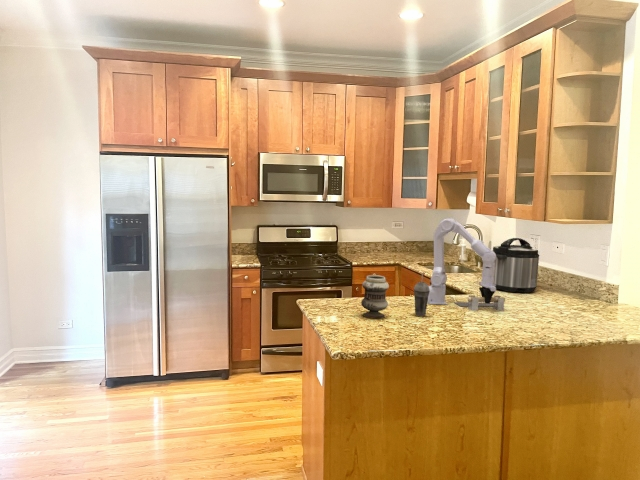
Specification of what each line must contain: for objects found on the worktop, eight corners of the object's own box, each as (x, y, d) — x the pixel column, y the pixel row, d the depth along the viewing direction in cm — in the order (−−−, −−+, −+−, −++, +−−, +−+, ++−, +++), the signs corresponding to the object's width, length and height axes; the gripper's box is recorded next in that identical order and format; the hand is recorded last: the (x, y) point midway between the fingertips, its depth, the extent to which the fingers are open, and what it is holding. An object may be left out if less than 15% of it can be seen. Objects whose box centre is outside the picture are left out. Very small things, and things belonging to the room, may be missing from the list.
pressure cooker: (526, 285, 300) (530, 236, 297) (547, 295, 272) (551, 241, 269) (479, 284, 300) (483, 235, 297) (495, 293, 272) (499, 239, 269)
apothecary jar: (370, 320, 202) (372, 279, 201) (355, 313, 213) (357, 274, 211) (392, 318, 208) (394, 278, 206) (377, 311, 219) (379, 273, 217)
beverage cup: (429, 314, 217) (431, 272, 215) (427, 318, 210) (430, 274, 208) (413, 312, 219) (415, 270, 217) (411, 316, 212) (413, 272, 210)
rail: (469, 302, 228) (469, 297, 228) (467, 301, 231) (467, 296, 230) (504, 302, 230) (505, 298, 229) (502, 301, 232) (502, 297, 232)
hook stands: (471, 310, 227) (472, 297, 227) (467, 308, 232) (468, 295, 232) (503, 311, 229) (504, 298, 228) (498, 308, 234) (499, 295, 233)
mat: (460, 306, 234) (460, 305, 234) (454, 303, 242) (454, 302, 242) (502, 307, 236) (502, 306, 236) (495, 303, 244) (495, 302, 244)
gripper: (502, 278, 222) (500, 306, 223) (489, 273, 236) (487, 299, 238) (488, 278, 221) (486, 306, 223) (475, 272, 236) (474, 299, 237)
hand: (486, 302), depth 230 cm, fingers closed on rail, 2 cm apart
